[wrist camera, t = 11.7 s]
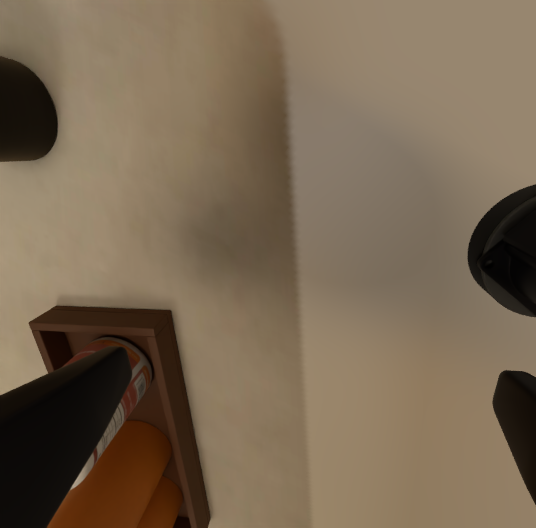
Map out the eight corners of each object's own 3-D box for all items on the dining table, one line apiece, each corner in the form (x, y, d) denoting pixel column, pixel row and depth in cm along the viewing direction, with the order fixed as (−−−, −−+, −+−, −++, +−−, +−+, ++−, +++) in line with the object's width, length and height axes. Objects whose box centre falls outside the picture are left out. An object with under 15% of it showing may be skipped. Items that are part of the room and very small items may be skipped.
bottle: (184, 445, 28) (107, 615, 18) (155, 474, 30) (72, 638, 20) (129, 408, 27) (17, 562, 17) (103, 441, 30) (-9, 592, 20)
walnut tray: (55, 305, 25) (27, 322, 23) (170, 310, 23) (153, 328, 21) (124, 504, 34) (109, 531, 32) (210, 518, 32) (201, 547, 30)
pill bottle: (74, 346, 26) (-90, 479, 15) (126, 324, 24) (-20, 457, 14) (116, 400, 27) (-7, 552, 17) (168, 382, 25) (66, 541, 15)
